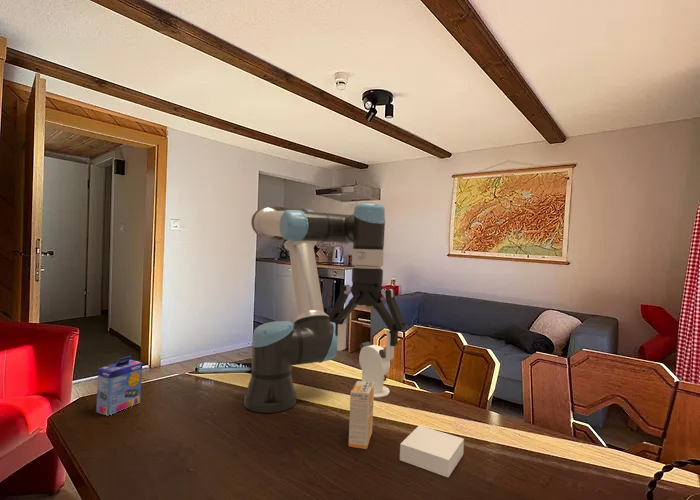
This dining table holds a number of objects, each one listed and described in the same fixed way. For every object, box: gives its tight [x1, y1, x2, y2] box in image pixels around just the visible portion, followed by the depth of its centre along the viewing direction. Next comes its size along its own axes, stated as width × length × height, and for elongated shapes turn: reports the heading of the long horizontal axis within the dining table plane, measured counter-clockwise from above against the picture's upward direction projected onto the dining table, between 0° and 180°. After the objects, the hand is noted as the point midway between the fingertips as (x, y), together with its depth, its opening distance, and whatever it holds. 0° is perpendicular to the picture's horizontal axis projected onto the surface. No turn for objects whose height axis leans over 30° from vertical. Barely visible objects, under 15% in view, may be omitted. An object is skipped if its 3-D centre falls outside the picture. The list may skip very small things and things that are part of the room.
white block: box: [399, 425, 465, 478], centre depth 85 cm, size 11×11×4 cm
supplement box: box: [348, 380, 374, 450], centre depth 92 cm, size 8×5×13 cm, turn 168°
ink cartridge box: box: [95, 355, 143, 417], centre depth 104 cm, size 10×6×14 cm, turn 158°
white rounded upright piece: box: [358, 341, 392, 399], centre depth 124 cm, size 12×11×15 cm
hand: (364, 354), depth 92 cm, fingers open, 13 cm apart
